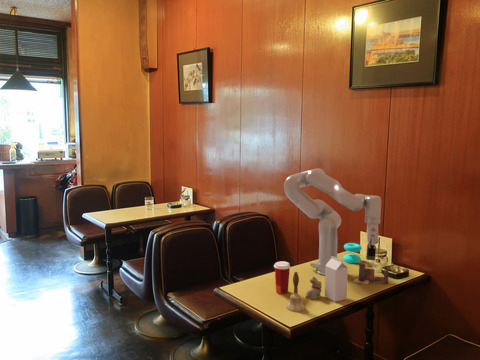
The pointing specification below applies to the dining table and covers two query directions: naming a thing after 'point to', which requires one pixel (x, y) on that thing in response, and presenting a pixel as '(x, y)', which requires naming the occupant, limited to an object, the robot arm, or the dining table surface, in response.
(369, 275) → the notch board
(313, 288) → the chocolate bunny
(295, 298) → the hand bell
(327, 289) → the milk carton
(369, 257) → the dark upright block
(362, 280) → the bobbin
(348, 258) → the donuts
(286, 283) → the paper cup
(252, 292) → the dining table surface
